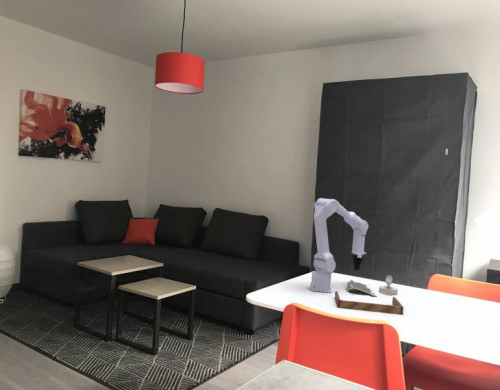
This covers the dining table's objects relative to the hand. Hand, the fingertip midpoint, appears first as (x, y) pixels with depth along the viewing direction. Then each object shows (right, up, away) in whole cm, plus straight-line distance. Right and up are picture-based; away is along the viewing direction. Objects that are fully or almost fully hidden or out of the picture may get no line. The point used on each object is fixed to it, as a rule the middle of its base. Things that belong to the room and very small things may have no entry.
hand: (356, 269), depth 211 cm
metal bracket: (-1, -10, -10) cm, 14 cm away
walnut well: (-4, -9, -34) cm, 35 cm away
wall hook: (+13, -10, -8) cm, 19 cm away
